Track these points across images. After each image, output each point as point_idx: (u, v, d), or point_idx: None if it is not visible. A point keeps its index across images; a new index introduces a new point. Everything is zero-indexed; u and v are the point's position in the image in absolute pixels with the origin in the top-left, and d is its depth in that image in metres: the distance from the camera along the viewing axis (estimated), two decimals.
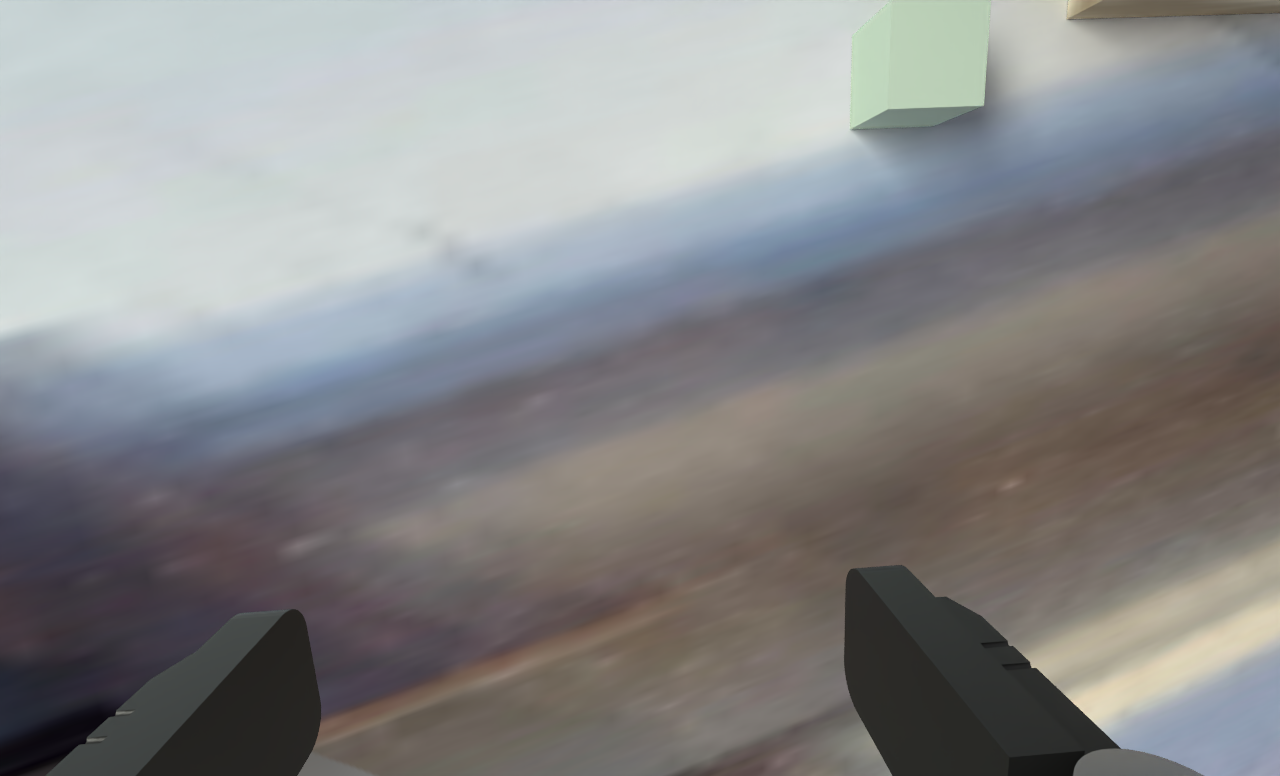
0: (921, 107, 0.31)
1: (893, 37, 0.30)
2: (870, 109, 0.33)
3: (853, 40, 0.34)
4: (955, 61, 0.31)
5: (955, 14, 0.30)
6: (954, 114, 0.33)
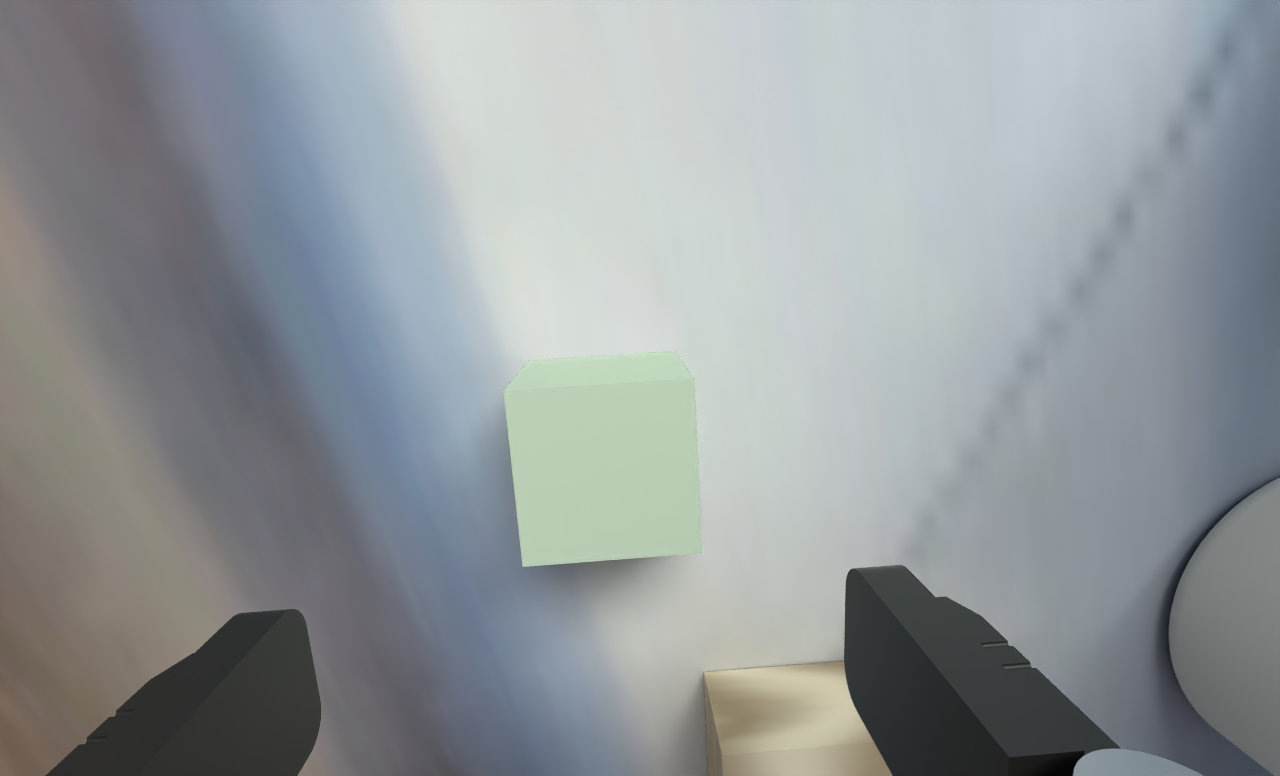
0: (511, 455, 0.16)
1: (629, 389, 0.16)
2: (530, 374, 0.18)
3: (667, 352, 0.21)
4: (595, 506, 0.17)
5: (672, 496, 0.17)
6: None
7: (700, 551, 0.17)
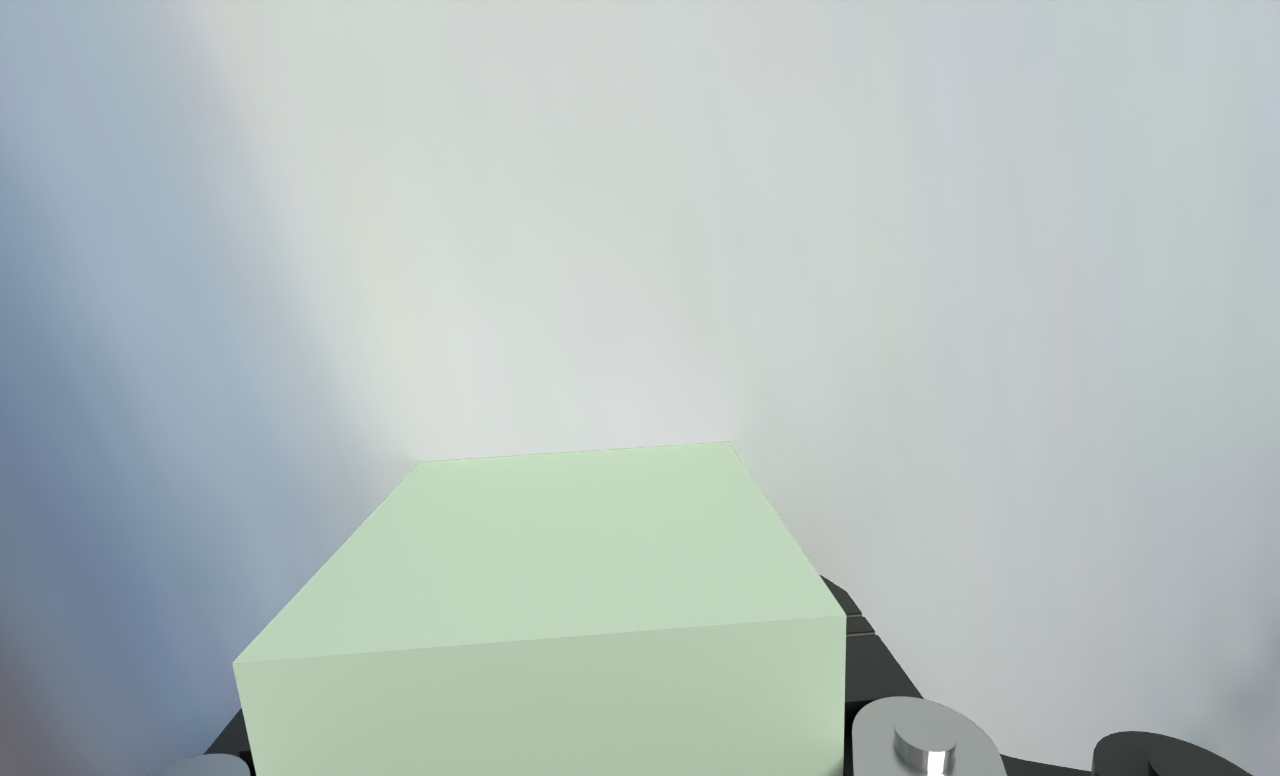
0: None
1: (643, 649, 0.05)
2: (383, 540, 0.07)
3: (713, 448, 0.10)
4: None
5: None
6: None
7: None
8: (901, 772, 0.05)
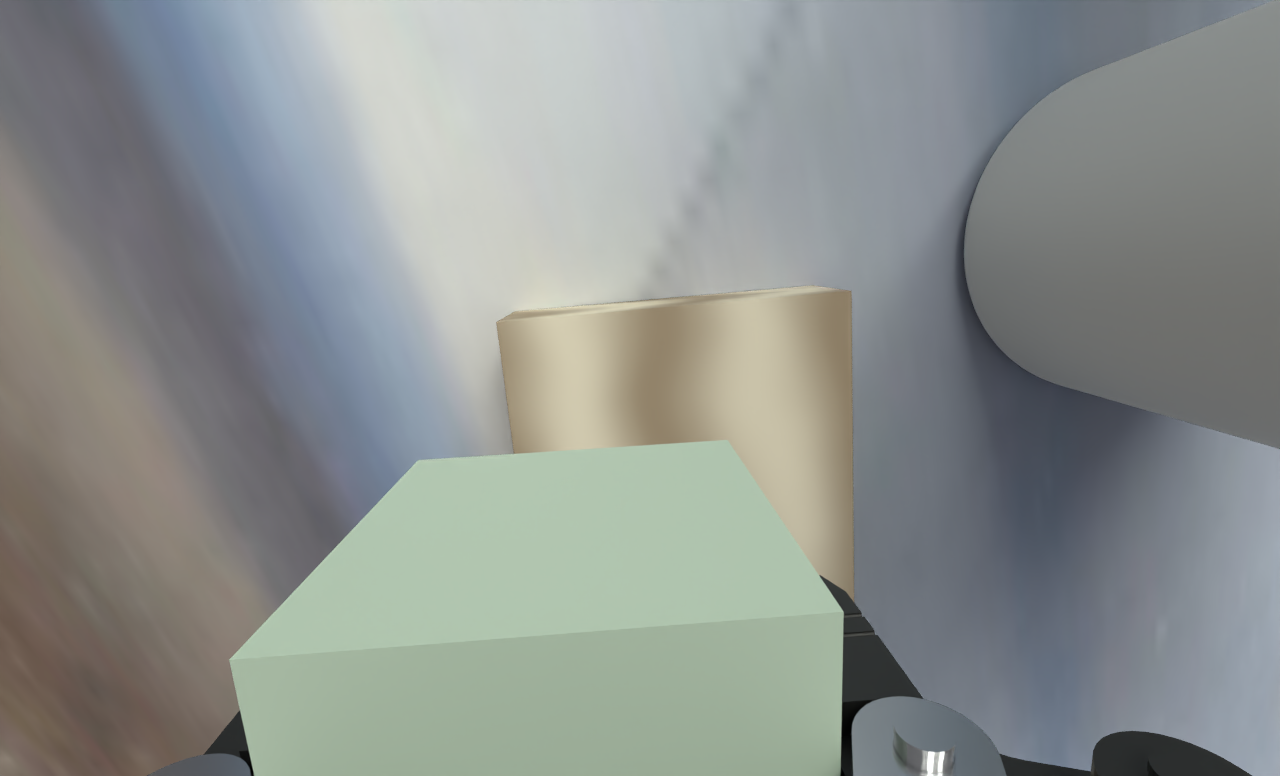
0: None
1: (640, 647, 0.05)
2: (381, 538, 0.07)
3: (711, 446, 0.10)
4: None
5: None
6: None
7: None
8: (901, 772, 0.05)
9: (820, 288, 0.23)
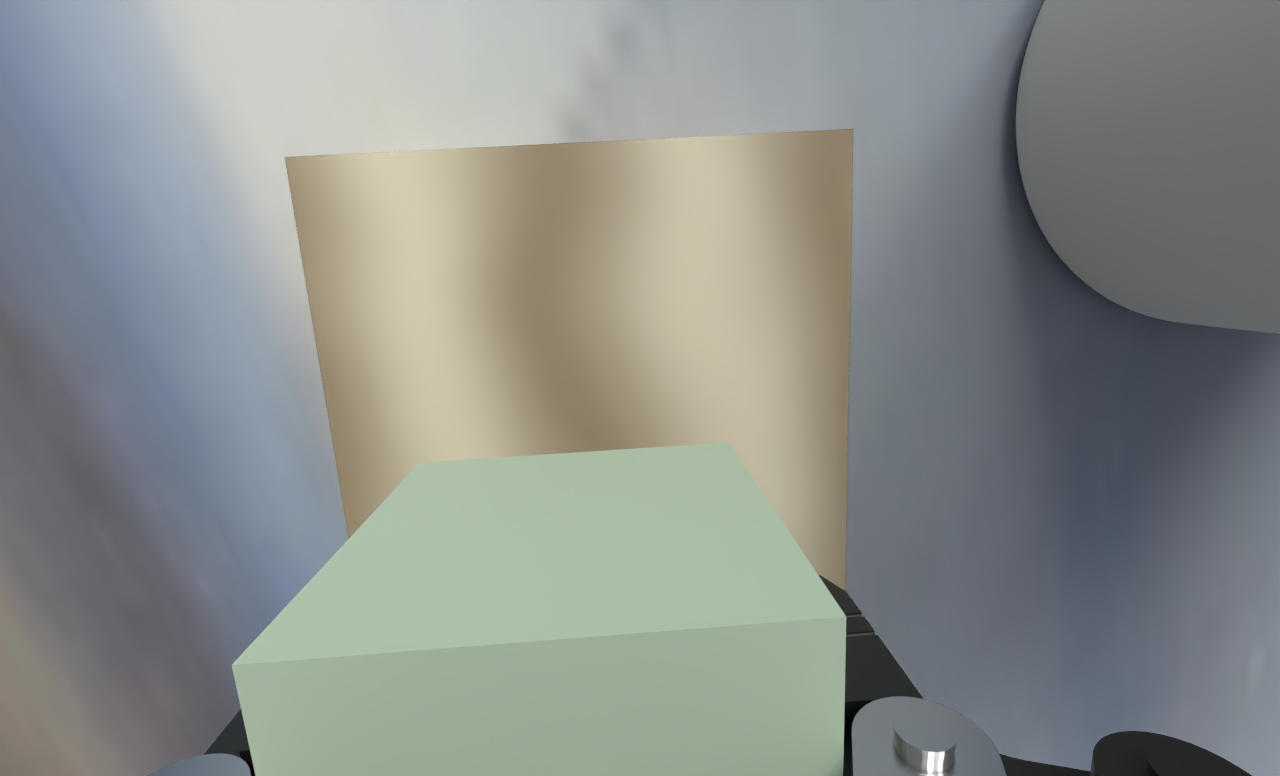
0: None
1: (642, 651, 0.05)
2: (382, 542, 0.07)
3: (712, 448, 0.10)
4: None
5: None
6: None
7: None
8: (901, 771, 0.05)
9: None
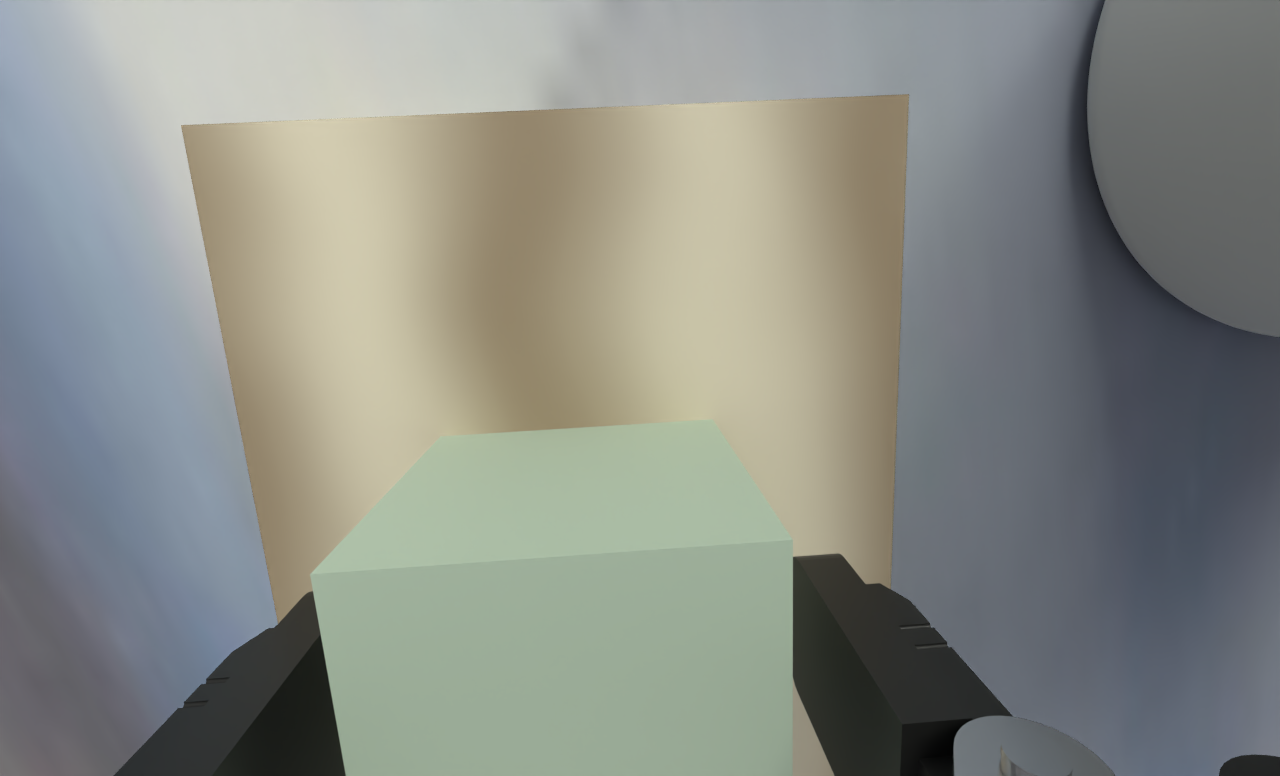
0: (339, 721, 0.07)
1: (631, 566, 0.06)
2: (417, 494, 0.08)
3: (698, 424, 0.11)
4: None
5: None
6: None
7: None
8: None
9: None
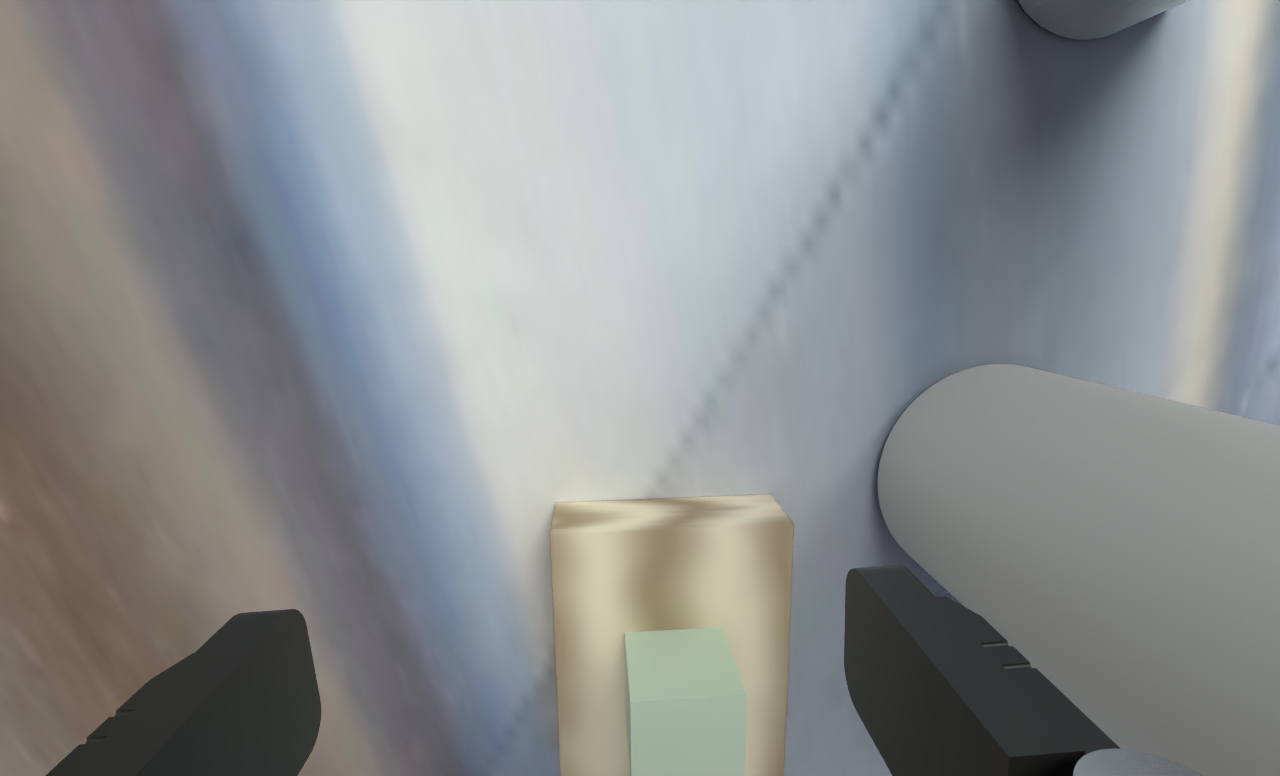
0: (631, 737, 0.26)
1: (707, 700, 0.26)
2: (637, 669, 0.28)
3: (717, 630, 0.31)
4: (680, 766, 0.27)
5: (727, 761, 0.27)
6: (629, 758, 0.29)
7: None
8: None
9: (774, 507, 0.32)
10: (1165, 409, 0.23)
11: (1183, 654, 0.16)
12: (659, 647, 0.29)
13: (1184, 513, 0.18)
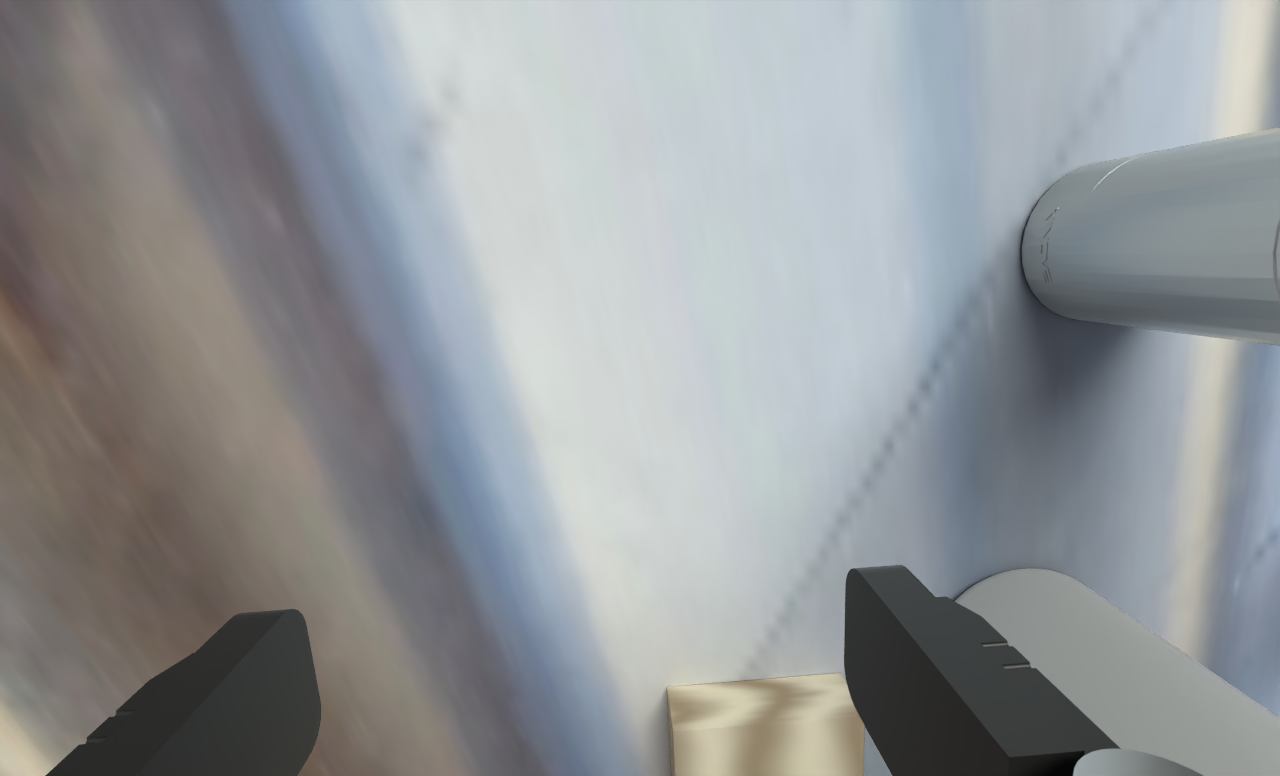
0: None
1: None
2: None
3: None
4: None
5: None
6: None
7: None
8: None
9: (846, 692, 0.40)
10: (1157, 676, 0.30)
11: None
12: None
13: None
